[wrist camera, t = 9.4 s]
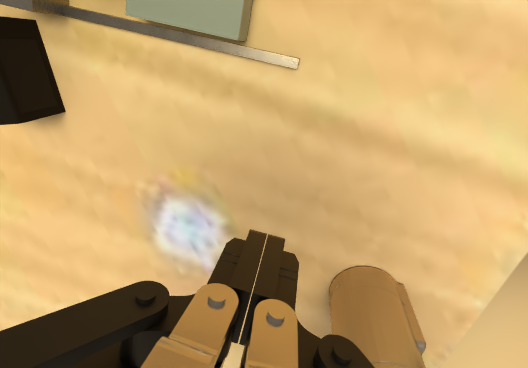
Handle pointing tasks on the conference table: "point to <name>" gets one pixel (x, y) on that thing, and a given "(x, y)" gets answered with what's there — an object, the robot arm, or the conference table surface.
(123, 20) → the vise
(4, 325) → the conference table surface
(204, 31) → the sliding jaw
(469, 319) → the conference table surface
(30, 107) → the digital camera
